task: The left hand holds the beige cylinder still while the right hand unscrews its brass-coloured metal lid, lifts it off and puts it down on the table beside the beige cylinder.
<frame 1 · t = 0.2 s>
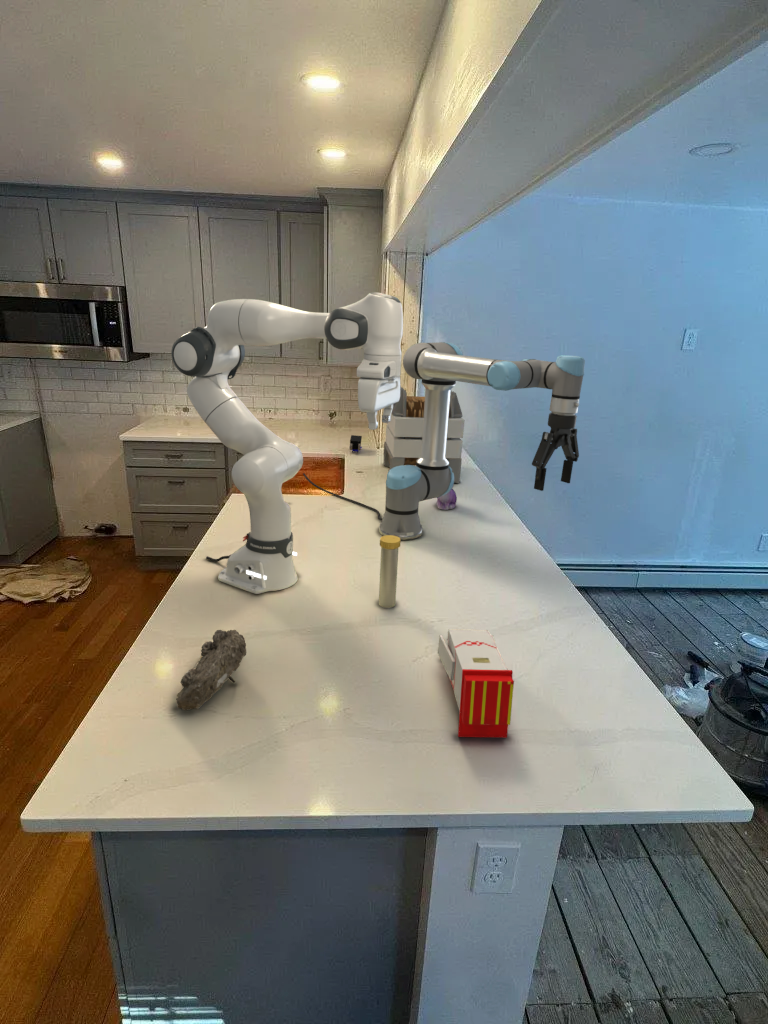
left hand: (379, 425, 137), 48 cm above the counter, tool pointing down, fingers open, 8 cm apart
right hand: (552, 485, 166), 28 cm above the counter, tool pointing down, fingers open, 13 cm apart
beige cylinder: (387, 603, 152), on the counter
toy: (469, 691, 119), on the counter
figurine character: (355, 451, 311), on the counter
lid: (390, 540, 146), point 19 cm above the counter, screwed on, not yet turned
fossil: (217, 681, 118), on the counter
grey slatted box: (419, 473, 275), on the counter
figurine: (446, 506, 230), on the counter
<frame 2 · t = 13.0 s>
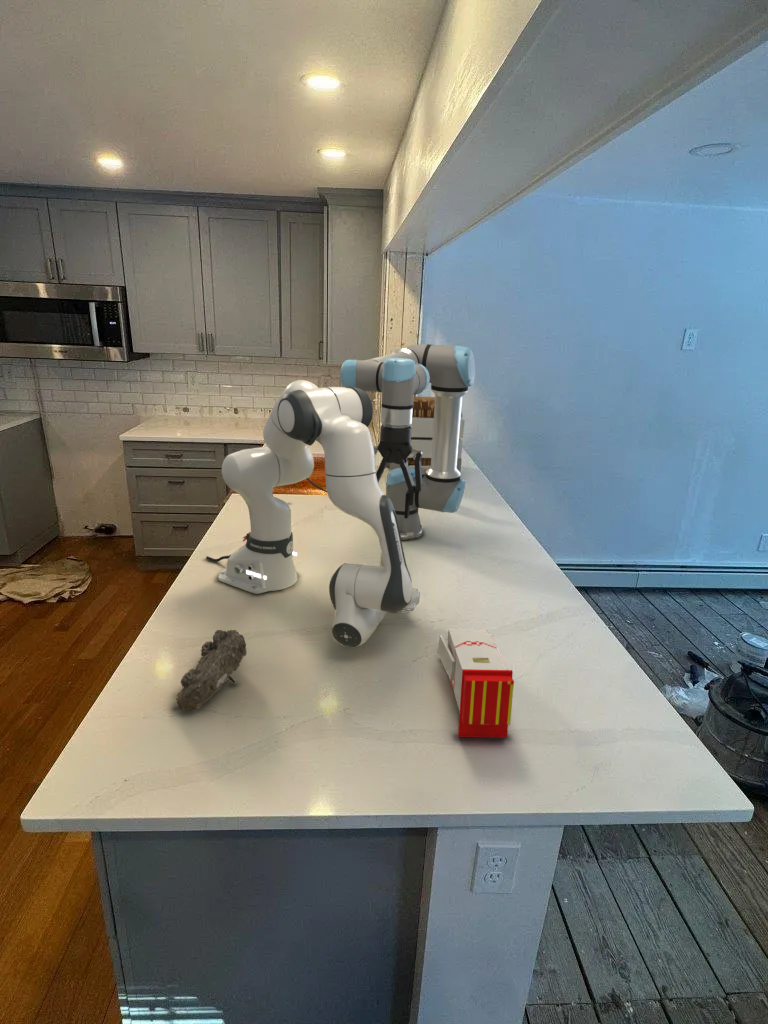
left hand: (389, 580, 151), 7 cm above the counter, tool horizontal, fingers closed on beige cylinder, 4 cm apart
right hand: (391, 514, 144), 26 cm above the counter, tool pointing down, fingers open, 7 cm apart
beige cylinder: (387, 603, 152), on the counter, touching left hand
everything else where it was.
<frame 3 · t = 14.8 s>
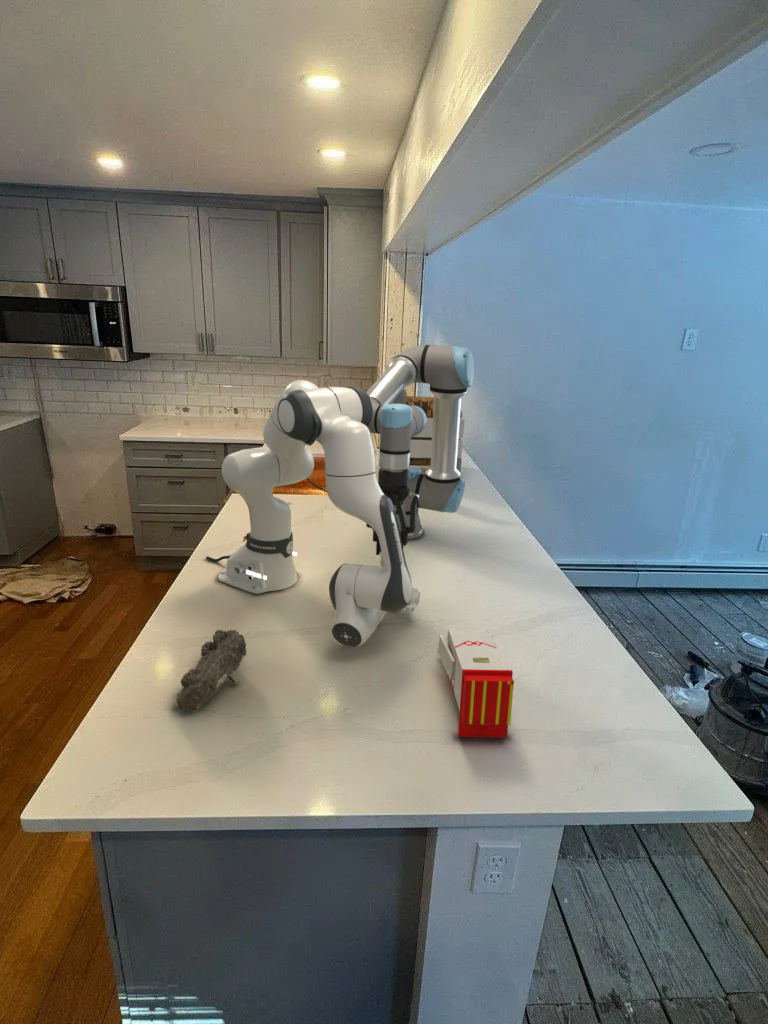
left hand: (389, 580, 151), 7 cm above the counter, tool horizontal, fingers closed on beige cylinder, 4 cm apart
right hand: (389, 554, 147), 15 cm above the counter, tool pointing down, fingers closed on lid, 5 cm apart
beige cylinder: (387, 603, 152), on the counter, touching left hand
lid: (390, 540, 146), point 19 cm above the counter, screwed on, not yet turned, touching right hand
everything else where it was.
when the right hand's fingers open (15 cm above the counter, at t = 16.2 s): lid stays where it is, point 19 cm above the counter.
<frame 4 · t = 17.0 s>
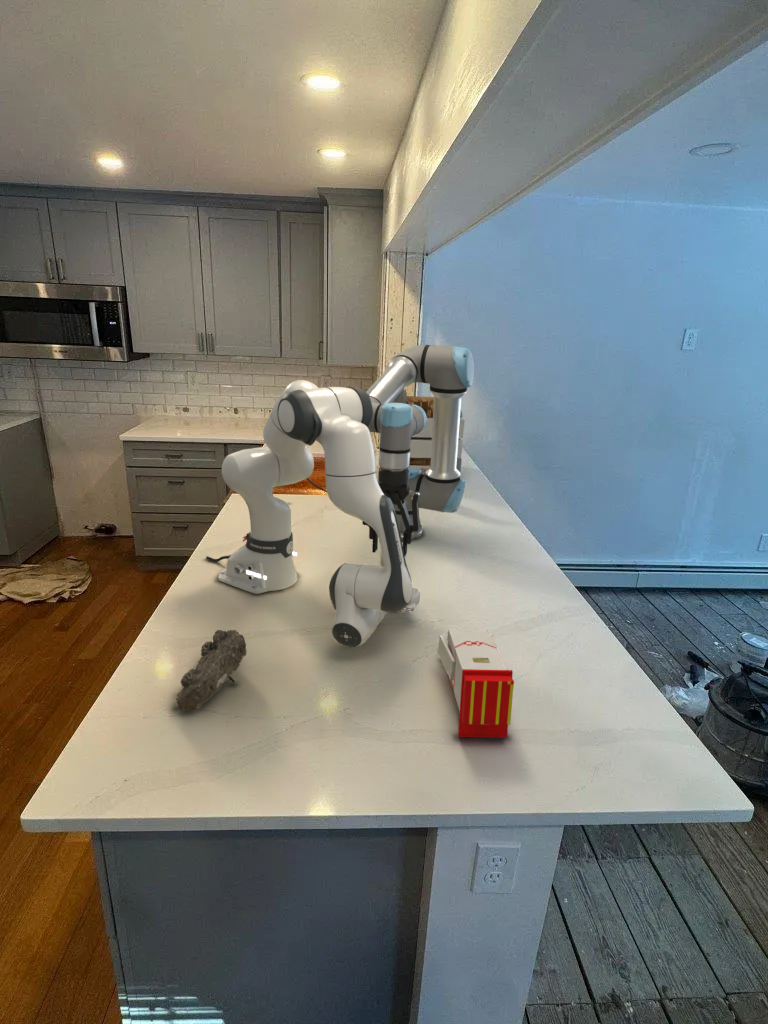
left hand: (389, 580, 151), 7 cm above the counter, tool horizontal, fingers closed on beige cylinder, 4 cm apart
right hand: (389, 552, 147), 15 cm above the counter, tool pointing down, fingers open, 7 cm apart
beige cylinder: (387, 603, 152), on the counter, touching left hand
lid: (390, 539, 146), point 19 cm above the counter, turned 82° so far, risen 0.2 cm, still on its thread
everything else where it was.
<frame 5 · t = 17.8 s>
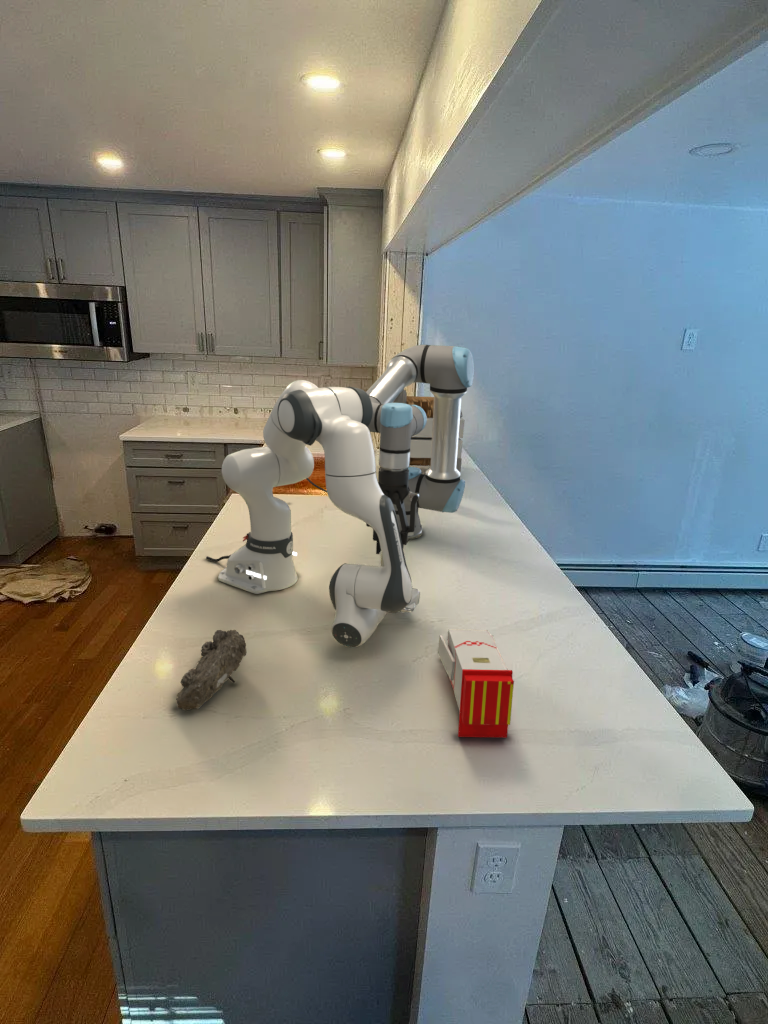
left hand: (389, 580, 151), 7 cm above the counter, tool horizontal, fingers closed on beige cylinder, 4 cm apart
right hand: (389, 553, 147), 15 cm above the counter, tool pointing down, fingers closed on lid, 5 cm apart
beige cylinder: (387, 603, 152), on the counter, touching left hand
lid: (390, 539, 146), point 19 cm above the counter, turned 82° so far, risen 0.2 cm, still on its thread, touching right hand
everything else where it was.
when the right hand's fingers open (0 cm above the counter, at t = 23.7 s): lid stays where it is, point 1 cm above the counter.
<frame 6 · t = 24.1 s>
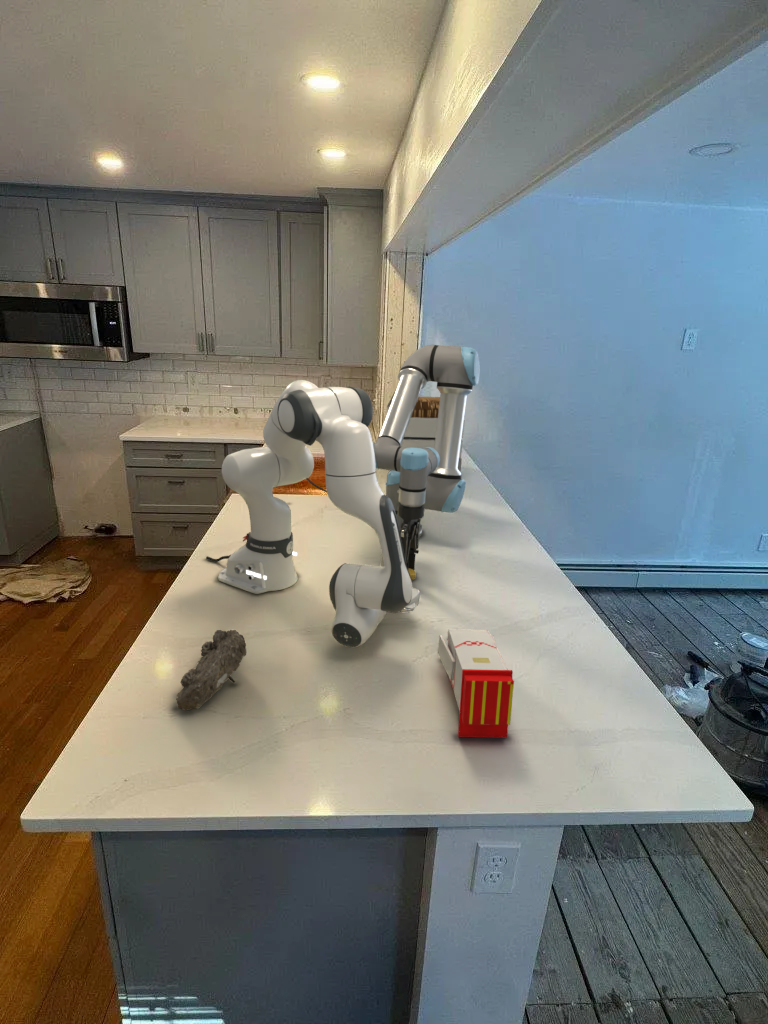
left hand: (389, 580, 151), 7 cm above the counter, tool horizontal, fingers closed on beige cylinder, 4 cm apart
right hand: (406, 577, 168), 0 cm above the counter, tool pointing down, fingers open, 5 cm apart
beige cylinder: (387, 603, 152), on the counter, touching left hand
lid: (406, 572, 168), point 1 cm above the counter, off its thread
everything else where it was.
when the left hand's fingers open (7 cm above the counter, at t = 25.4 s): beige cylinder stays where it is, on the counter.
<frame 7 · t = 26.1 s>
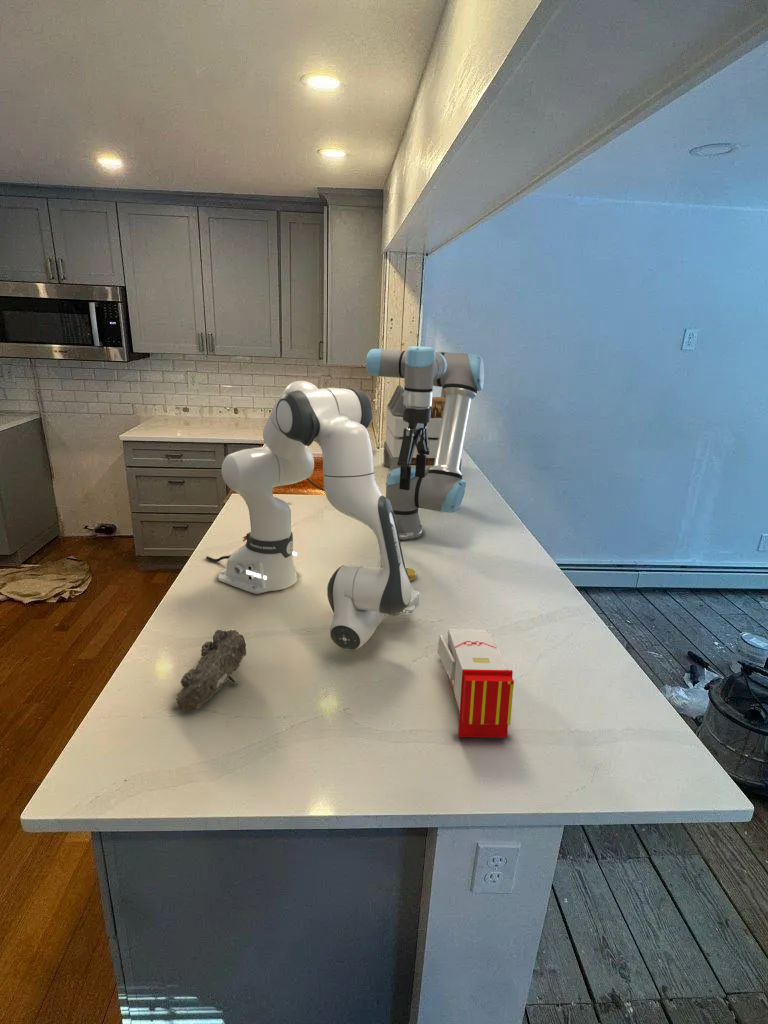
left hand: (388, 582, 150), 7 cm above the counter, tool horizontal, fingers open, 8 cm apart
right hand: (412, 483, 158), 29 cm above the counter, tool pointing down, fingers open, 13 cm apart
beige cylinder: (387, 603, 152), on the counter
everything else where it was.
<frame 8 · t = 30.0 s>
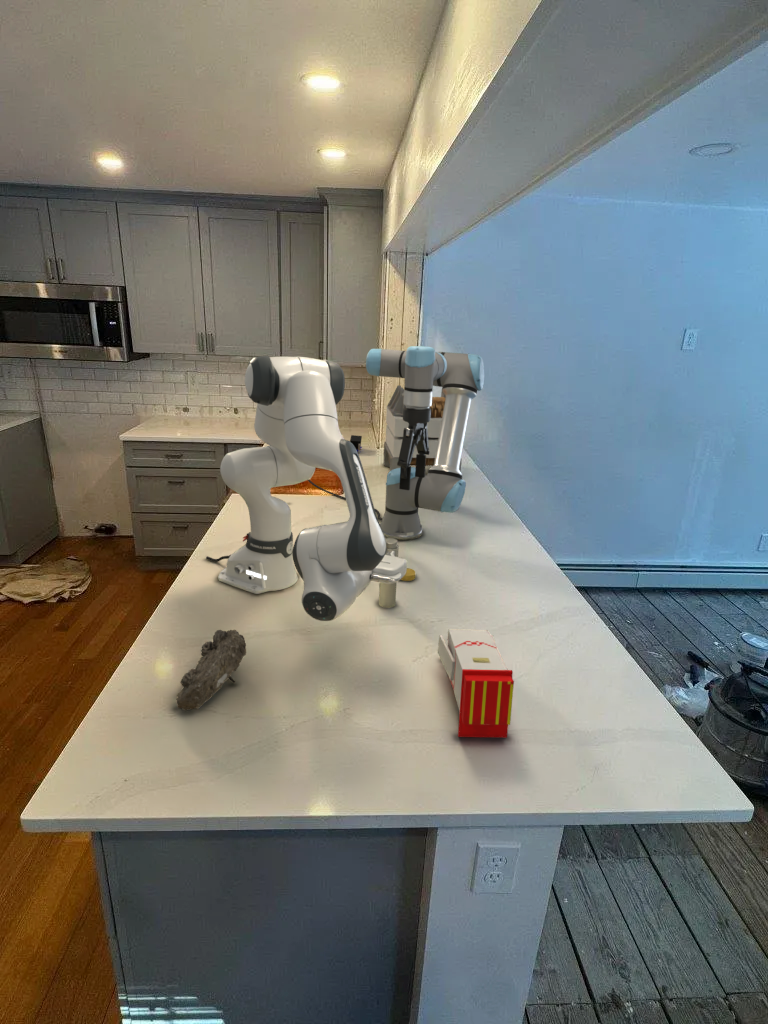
left hand: (372, 550, 134), 21 cm above the counter, tool horizontal, fingers open, 8 cm apart
right hand: (412, 483, 158), 29 cm above the counter, tool pointing down, fingers open, 13 cm apart
nothing on the counter moved.
at the end: lid came off its thread; lid point 1.4 cm above the counter; the left hand is holding nothing; the right hand is holding nothing; beige cylinder tilted 0°; beige cylinder moved 0.0 cm from its start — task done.
